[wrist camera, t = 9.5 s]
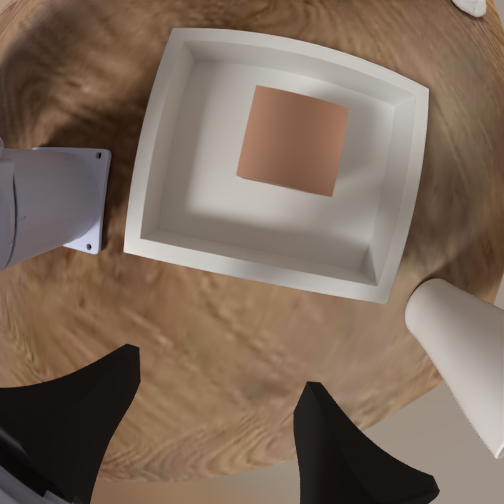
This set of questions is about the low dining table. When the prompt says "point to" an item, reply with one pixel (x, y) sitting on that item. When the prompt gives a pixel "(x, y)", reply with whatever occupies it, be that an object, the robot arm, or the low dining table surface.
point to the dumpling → (472, 6)
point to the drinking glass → (464, 352)
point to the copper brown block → (293, 141)
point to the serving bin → (266, 195)
